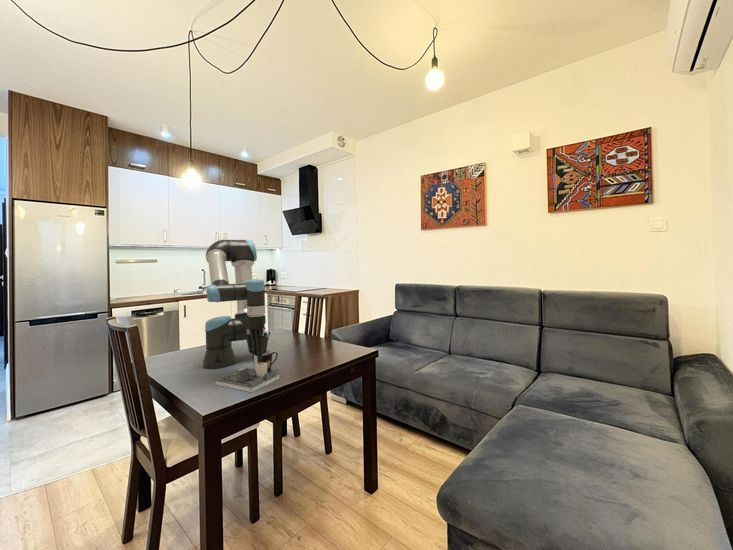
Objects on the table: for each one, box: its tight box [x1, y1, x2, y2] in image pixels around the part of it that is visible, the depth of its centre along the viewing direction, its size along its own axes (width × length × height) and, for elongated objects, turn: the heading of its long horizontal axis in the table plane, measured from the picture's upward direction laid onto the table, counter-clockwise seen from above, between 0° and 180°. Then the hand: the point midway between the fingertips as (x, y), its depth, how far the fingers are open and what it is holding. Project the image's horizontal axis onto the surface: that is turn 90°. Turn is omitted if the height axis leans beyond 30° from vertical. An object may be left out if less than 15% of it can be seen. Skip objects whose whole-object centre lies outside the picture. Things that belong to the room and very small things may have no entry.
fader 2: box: [256, 363, 267, 376], centre depth 135 cm, size 2×4×5 cm, turn 154°
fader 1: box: [235, 367, 249, 382], centre depth 129 cm, size 2×4×5 cm, turn 154°
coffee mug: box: [251, 349, 279, 372], centre depth 143 cm, size 12×9×10 cm
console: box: [215, 368, 281, 393], centre depth 133 cm, size 20×16×4 cm
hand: (258, 369), depth 136 cm, fingers closed
